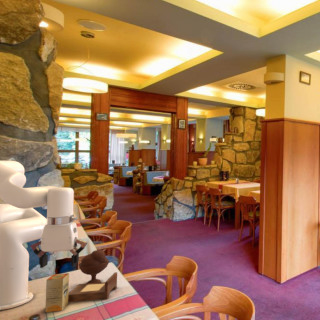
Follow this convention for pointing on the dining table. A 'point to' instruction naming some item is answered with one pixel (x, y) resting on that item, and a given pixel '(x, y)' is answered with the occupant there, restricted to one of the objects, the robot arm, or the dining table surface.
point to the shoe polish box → (57, 292)
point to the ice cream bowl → (94, 264)
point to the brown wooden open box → (93, 290)
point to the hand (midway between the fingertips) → (59, 265)
